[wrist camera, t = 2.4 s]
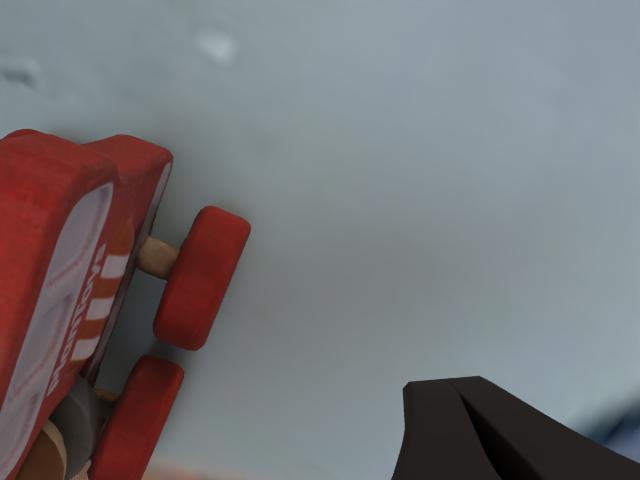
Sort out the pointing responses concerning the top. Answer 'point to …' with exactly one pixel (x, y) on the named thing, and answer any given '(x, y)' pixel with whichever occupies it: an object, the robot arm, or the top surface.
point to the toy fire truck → (93, 301)
